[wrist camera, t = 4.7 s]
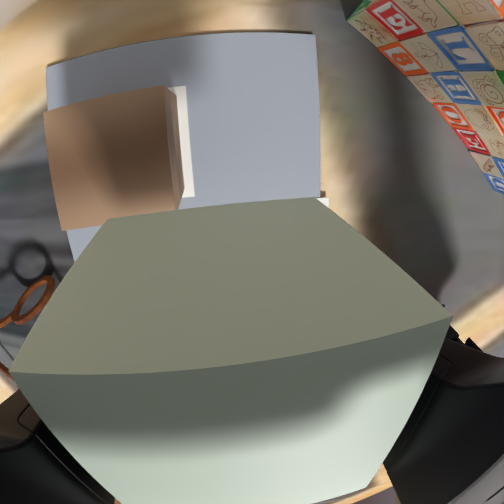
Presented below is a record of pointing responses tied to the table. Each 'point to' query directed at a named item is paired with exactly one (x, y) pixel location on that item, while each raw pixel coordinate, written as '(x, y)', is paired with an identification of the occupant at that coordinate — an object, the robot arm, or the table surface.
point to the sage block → (231, 355)
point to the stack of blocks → (449, 64)
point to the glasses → (30, 314)
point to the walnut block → (115, 156)
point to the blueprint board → (218, 111)
